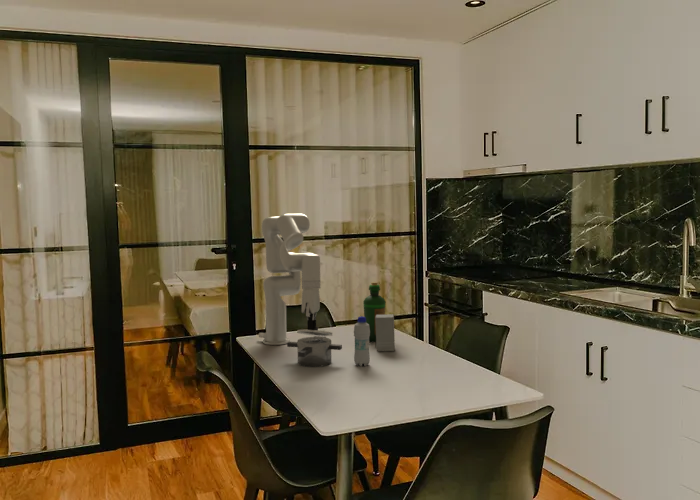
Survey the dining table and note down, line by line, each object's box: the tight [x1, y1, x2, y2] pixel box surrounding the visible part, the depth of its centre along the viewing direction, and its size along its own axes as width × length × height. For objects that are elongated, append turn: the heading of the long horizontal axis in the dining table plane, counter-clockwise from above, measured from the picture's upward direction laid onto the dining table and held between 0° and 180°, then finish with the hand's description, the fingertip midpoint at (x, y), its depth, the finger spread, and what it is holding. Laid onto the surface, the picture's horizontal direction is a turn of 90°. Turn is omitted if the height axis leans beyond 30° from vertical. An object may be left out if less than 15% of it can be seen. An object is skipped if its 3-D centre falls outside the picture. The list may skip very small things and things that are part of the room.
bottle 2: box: [363, 281, 386, 343], centre depth 292 cm, size 11×11×28 cm
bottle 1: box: [353, 315, 371, 367], centre depth 248 cm, size 7×7×20 cm
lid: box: [296, 326, 333, 337], centre depth 252 cm, size 15×15×3 cm
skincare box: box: [375, 314, 396, 352], centre depth 273 cm, size 8×7×16 cm
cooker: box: [286, 335, 343, 368], centre depth 248 cm, size 23×24×9 cm
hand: (311, 329), depth 247 cm, fingers closed
